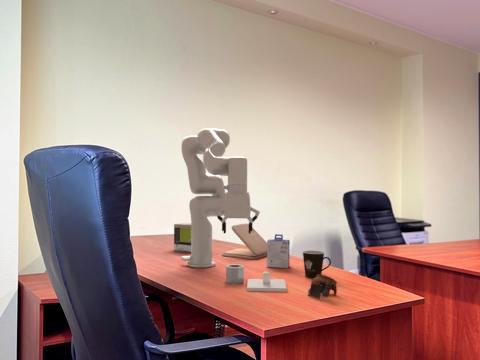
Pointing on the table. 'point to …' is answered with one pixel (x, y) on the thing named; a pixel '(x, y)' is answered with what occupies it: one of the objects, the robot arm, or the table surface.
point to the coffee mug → (314, 263)
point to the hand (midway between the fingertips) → (237, 233)
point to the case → (248, 243)
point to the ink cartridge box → (278, 252)
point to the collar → (234, 274)
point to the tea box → (182, 237)
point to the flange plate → (266, 284)
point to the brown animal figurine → (322, 286)
